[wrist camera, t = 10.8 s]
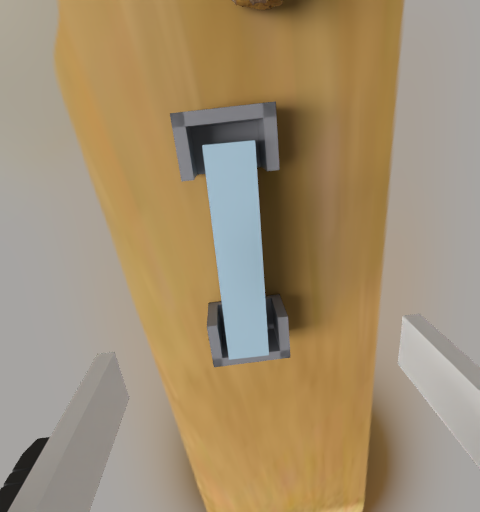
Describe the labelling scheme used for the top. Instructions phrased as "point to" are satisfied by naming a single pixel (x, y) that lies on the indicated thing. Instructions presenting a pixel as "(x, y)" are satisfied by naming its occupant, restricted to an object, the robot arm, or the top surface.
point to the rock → (258, 3)
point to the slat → (238, 244)
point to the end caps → (192, 163)
